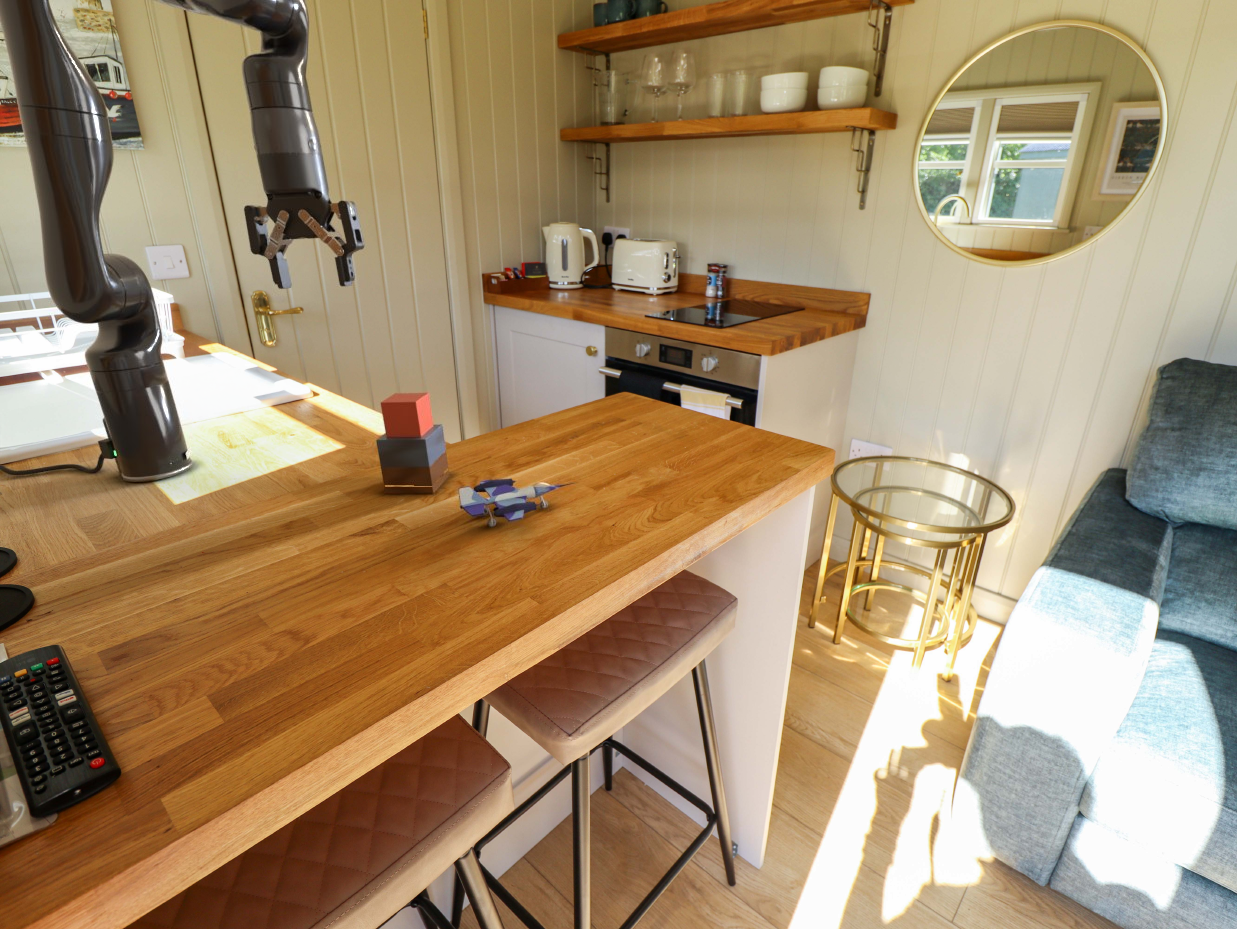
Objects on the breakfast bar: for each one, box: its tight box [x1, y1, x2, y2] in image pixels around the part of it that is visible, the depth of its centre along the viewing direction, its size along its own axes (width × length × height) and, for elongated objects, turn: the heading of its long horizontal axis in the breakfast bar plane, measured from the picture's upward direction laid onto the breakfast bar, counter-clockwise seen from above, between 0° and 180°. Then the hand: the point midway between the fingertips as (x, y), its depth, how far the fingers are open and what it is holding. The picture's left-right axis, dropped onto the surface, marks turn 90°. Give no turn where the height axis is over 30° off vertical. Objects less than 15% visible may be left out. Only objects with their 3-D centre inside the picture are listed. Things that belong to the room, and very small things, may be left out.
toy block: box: [380, 392, 434, 437], centre depth 92 cm, size 5×5×5 cm
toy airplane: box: [458, 477, 579, 528], centre depth 84 cm, size 13×14×4 cm
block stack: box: [375, 423, 450, 495], centre depth 94 cm, size 7×7×8 cm
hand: (315, 287), depth 88 cm, fingers open, 8 cm apart
